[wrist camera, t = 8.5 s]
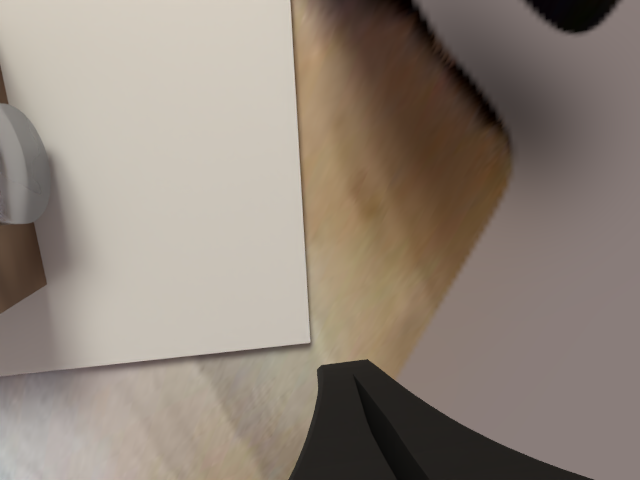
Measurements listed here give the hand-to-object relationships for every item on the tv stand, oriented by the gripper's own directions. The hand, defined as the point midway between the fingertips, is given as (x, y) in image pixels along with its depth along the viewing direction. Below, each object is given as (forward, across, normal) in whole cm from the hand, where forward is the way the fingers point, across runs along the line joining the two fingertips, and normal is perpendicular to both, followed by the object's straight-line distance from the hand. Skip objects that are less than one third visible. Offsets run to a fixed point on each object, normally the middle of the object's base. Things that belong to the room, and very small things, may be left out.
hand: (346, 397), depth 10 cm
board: (+9, +8, -5) cm, 14 cm away
